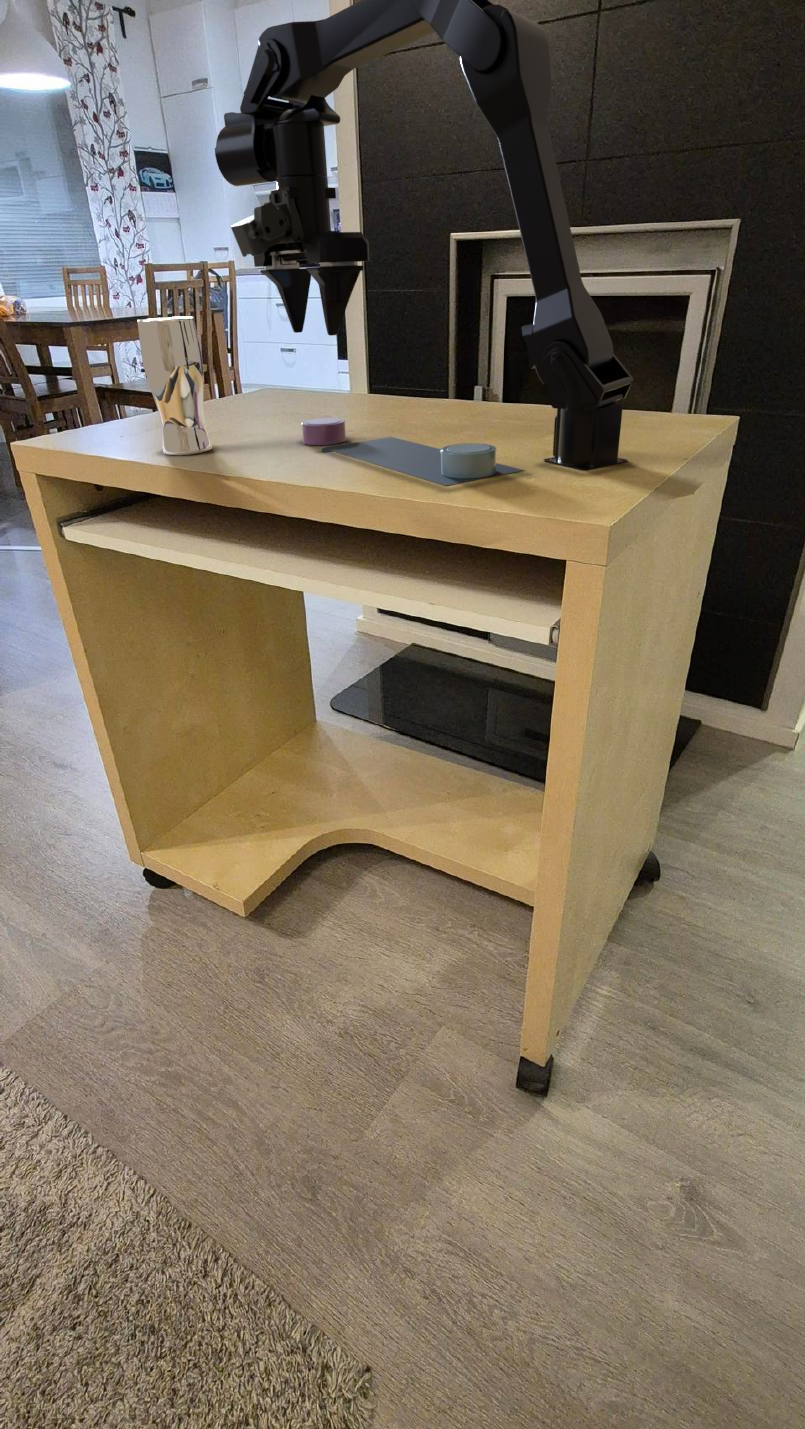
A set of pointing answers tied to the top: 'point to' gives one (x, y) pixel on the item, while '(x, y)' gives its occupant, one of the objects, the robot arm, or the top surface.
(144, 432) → the top surface
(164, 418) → the beer glass
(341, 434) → the purple puck
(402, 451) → the placemat
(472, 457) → the grey-blue puck
